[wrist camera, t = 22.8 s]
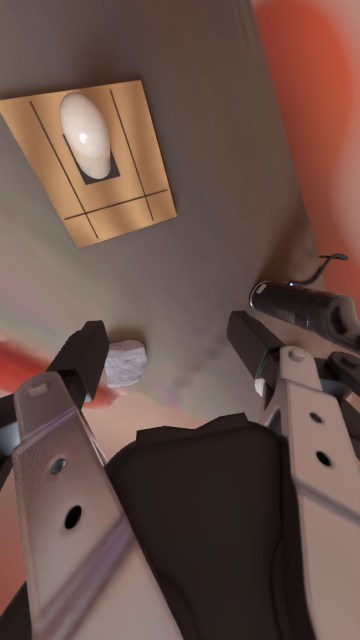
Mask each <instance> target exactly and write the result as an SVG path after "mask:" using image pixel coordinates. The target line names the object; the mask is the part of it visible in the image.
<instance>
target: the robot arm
mask: <svg viewBox="0 0 360 640" xmlns="http://www.w3.org/2000/svg"><path fill="white" fill-rule="evenodd" d="M318 256H319V258H328V259H327V260H326V261H325V263H324V264H323V265H322V267H321V268H320V270H319V272H318V273H317V275H316V276H315V277H314V278H313V279H312V280H311V281H310V282H308V283H297V282H291V283H289V284H284V283H278V282H270V281H262V282H260V283H258V284H257V285H256V286H255V287H254V288H253V290H252V292H251V294H250V306H251V307H252V308H253V309H254V310H256V311H260V312H262V313H265V314H267V315H270V316H272V317H275V318H277V319H280V320H282V321H285V322H287V323H290V324H292V325H295V326H297V327H300V328H302V329H305V330H308V331H310V332H312V333H315V334H317V335H319V336H320V337H322V338H323V339H325V340H327V341H329V342H331V343H334V344H336V345H338V346H340V347H343V348H345V349H347V350H349V351H351V352H353V353H355V354H358V355H360V322H359V321H358V319H357V316H356V311H355V304H354V301H353V300H352V299H351V298H350V297H349V296H347V295H342V294H337V293H331V292H325V291H320V290H313V289H308V288H303V287H302V286H308V285H310V284H312V283H313V282H315V281H316V280H317V278H318V277H319V276H320V275H321V273H322V271H323V270H324V268H325V267H326V265H327V264H328V263H329V261H330V260H331V259H339V260H348V257H347V256H345V255H343V254H334V255H332V256H322V255H318ZM296 285H297V286H296ZM227 338H228V340H229V341H230V343H231V344H232V346H233V348H234V349H235V351H236V352H237V354H238V355H239V357H240V358H241V360H242V361H243V363H244V364H245V366H246V367H247V369H248V370H249V372H250V373H251V375H252V376H253V378H254V379H262V378H263V379H264V380H265V382H264V385H263V395H262V406H261V415H260V419H259V422H258V423H255V422H251V421H248V419H247V417H246V415H245V413H238V414H232V415H226V416H220V417H218V418H216V419H214V420H212V421H210V422H208V423H206V424H204V425H203V426H201V427H199V428H196V429H187V428H178V427H170V426H162V427H156V428H150V429H144V430H139V431H137V435H136V440H135V441H133V442H131V443H130V444H128V445H127V446H125V447H124V448H122V449H121V450H120V451H119V452H117V453H116V455H114V456H113V457H112V458H111V459H110V461H109V462H108V461H107V459H106V457H105V455H104V453H103V451H102V450H101V448H100V446H99V444H98V442H97V440H96V438H95V437H94V435H93V432H92V431H91V429H90V427H89V425H88V423H87V421H86V419H85V417H84V415H83V413H82V411H81V409H82V406H83V403H85V402H92V401H93V400H94V397H95V393H96V390H97V387H98V384H99V381H100V378H101V374H102V371H103V368H104V365H105V362H106V358H107V355H108V352H109V340H108V337H107V333H106V330H105V326H104V323H103V321H102V320H99V321H87V322H86V323H85V325H84V327H83V328H82V330H79V331H76V332H75V333H74V334H73V335H71V336H70V337H69V338H68V340H67V341H66V343H65V345H64V346H63V347H62V348H61V351H59V353H58V354H57V356H56V357H55V359H54V360H53V361H52V363H51V364H50V366H49V367H48V369H47V370H46V372H44V373H41V374H38V375H36V376H34V377H32V378H30V379H28V380H27V381H26V382H24V383H23V384H22V385H21V386H20V387H19V388H18V389H17V390H16V392H15V393H14V394H11V395H8V396H5V397H2V398H0V491H1V489H2V487H3V485H4V483H5V481H6V479H7V477H8V475H9V473H10V471H11V469H12V467H13V471H14V479H15V489H16V497H17V505H18V514H19V522H20V531H21V539H22V548H23V556H24V565H25V573H26V580H25V582H24V583H23V584H22V586H21V587H20V589H19V590H18V592H17V593H16V594H15V596H14V597H13V599H12V600H11V602H10V603H9V605H8V606H7V608H6V609H5V610H4V612H3V613H2V615H1V616H0V640H360V468H359V465H358V461H357V459H358V460H359V461H360V413H359V412H358V411H357V410H356V409H355V408H354V407H353V406H352V405H350V404H349V403H348V402H347V401H346V400H345V399H346V398H347V397H348V396H349V395H350V394H351V393H352V392H354V393H355V394H356V395H358V396H359V397H360V359H359V358H357V357H355V356H353V355H351V354H348V353H344V352H332V353H331V354H330V356H329V357H328V358H327V359H321V358H314V357H312V356H311V355H310V354H309V353H308V352H306V351H305V350H303V349H301V348H298V347H295V346H289V345H287V346H286V345H285V344H284V343H283V342H282V341H281V340H279V339H278V338H277V337H276V336H275V335H274V334H273V333H272V332H271V331H269V329H267V328H266V327H265V326H264V325H263V324H262V323H261V322H260V321H258V320H256V319H254V318H252V317H251V316H250V315H248V314H247V313H246V312H245V311H232V312H231V314H230V318H229V323H228V327H227ZM356 457H357V459H356Z"/></svg>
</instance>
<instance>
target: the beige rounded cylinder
mask: <svg viewBox="0 0 360 640" xmlns="http://www.w3.org/2000/svg"><path fill="white" fill-rule="evenodd" d="M59 118H60V124H61V127H62V130H63V133H64V135H65V137H66V139H67V142H68V144H69V146H70V148H71V150H72V153H73V155H74V157H75V159H76V161H77V163H78V165H79V167H80V168H81V169H82V170H83V172H85V173H86V174H87V175H88V176H90V177H92V178H96V179H102V178H104V177H106V176H107V175H108V174H109V172H110V169H111V155H110V143H109V133H108V128H107V125H106V122H105V120H104V117H103V115H102V114H101V112H100V110H99V109H98V107H97V106H96V105H95V104H94V103H93V102H92V101H91V100H90V99H89V98H88V97H86V96H84V95H82V94H80V93H75V92H74V93H69V94H67V95H66V96H65V97H64V98H63V99H62V101H61V103H60V108H59Z"/></svg>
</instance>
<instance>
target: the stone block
mask: <svg viewBox="0 0 360 640" xmlns="http://www.w3.org/2000/svg"><path fill="white" fill-rule="evenodd" d="M146 360H147V356H146V352H145V349H144V345H143V344H142V343H141V342H140V341H137V340H126V341H122V342H115V343H111V344H109V352H108V355H107V358H106V362H105V368H106V374H107V385H108V387H119V386H125V385H131V384H134V383H136V382H139V381H140V379H142V378H143V377H144V375H145V372H144V370H145V368H146V362H147V361H146Z"/></svg>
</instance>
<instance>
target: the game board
mask: <svg viewBox="0 0 360 640" xmlns="http://www.w3.org/2000/svg"><path fill="white" fill-rule="evenodd" d="M74 92H75V93H80V94H82V95H84V96H86V97H88V98H89V99H90V100H91V101H92V102H93V103H94V104H95V105H96V106H97V107H98V109H99V110H100V112H101V114H102V115H103V117H104V120H105V122H106V125H107V128H108V133H109V143H110V155H111V169H110V172H109V174H108V175H107V176H106V177H104V178H102V179H96V178H92V177H90V176H88V175H87V174H86V173H85V172H83V170H82V169H81V168H80V167H79V165H78V163H77V161H76V159H75V157H74V155H73V153H72V150H71V148H70V146H69V144H68V142H67V139H66V137H65V135H64V133H63V130H62V127H61V124H60V118H59V108H60V103H61V101H62V99H63V98H64V97H65V96H66V95H67V94H69V93H74ZM0 112H1V114H2V116H3V118H4V119H5V121H6V123H7V125H8V126H9V128H10V130H11V132H12V133H13V135H14V137H15V139H16V141H17V142H18V144H19V146H20V148H21V149H22V151H23V153H24V155H25V156H26V158H27V160H28V162H29V164H30V165H31V167H32V169H33V171H34V172H35V174H36V176H37V178H38V179H39V181H40V183H41V185H42V187H43V188H44V190H45V192H46V194H47V195H48V197H49V199H50V201H51V203H52V204H53V206H54V208H55V210H56V211H57V213H58V215H59V217H60V218H61V220H62V222H63V224H64V226H65V227H66V229H67V231H68V233H69V234H70V236H71V238H72V240H73V241H74V243H75V245H76V247H77V248H78V249H80V248H83V247H86V246H89V245H92V244H96V243H99V242H102V241H105V240H108V239H111V238H114V237H117V236H120V235H123V234H126V233H129V232H132V231H136V230H139V229H142V228H145V227H148V226H151V225H154V224H157V223H160V222H163V221H166V220H169V219H172V218H175V217H176V216H177V215H176V211H175V207H174V204H173V200H172V196H171V192H170V188H169V185H168V181H167V177H166V173H165V169H164V166H163V162H162V158H161V154H160V150H159V147H158V143H157V139H156V135H155V132H154V128H153V124H152V120H151V116H150V113H149V109H148V105H147V101H146V97H145V94H144V90H143V86H142V82H141V80H137V81H130V82H123V83H116V84H109V85H102V86H95V87H88V88H82V89H75V90H68V91H61V92H54V93H47V94H40V95H33V96H26V97H19V98H12V99H5V100H0Z"/></svg>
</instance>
